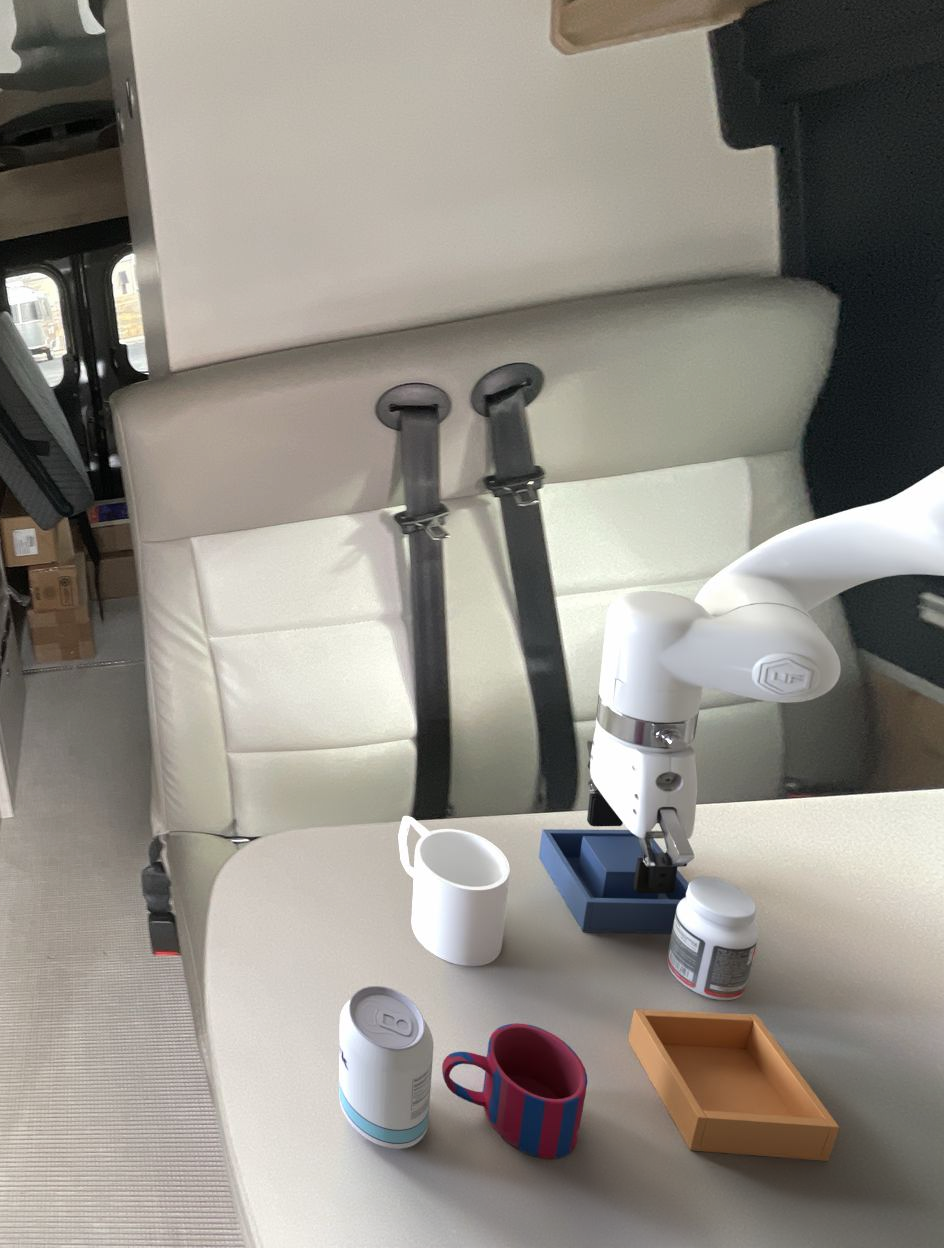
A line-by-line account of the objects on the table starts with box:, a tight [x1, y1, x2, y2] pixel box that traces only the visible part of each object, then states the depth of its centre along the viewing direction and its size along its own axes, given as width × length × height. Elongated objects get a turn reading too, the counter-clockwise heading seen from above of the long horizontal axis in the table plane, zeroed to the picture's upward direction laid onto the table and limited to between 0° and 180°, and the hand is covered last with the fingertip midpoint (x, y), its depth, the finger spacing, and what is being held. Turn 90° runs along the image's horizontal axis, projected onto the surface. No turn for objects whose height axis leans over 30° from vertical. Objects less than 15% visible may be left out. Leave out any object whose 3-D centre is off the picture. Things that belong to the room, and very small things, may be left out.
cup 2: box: [441, 1022, 588, 1160], centre depth 69 cm, size 7×10×7 cm
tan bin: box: [627, 1008, 840, 1162], centre depth 68 cm, size 9×9×4 cm
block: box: [578, 836, 659, 899], centre depth 86 cm, size 5×5×5 cm
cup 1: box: [397, 815, 511, 967], centre depth 86 cm, size 8×12×10 cm
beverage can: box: [338, 985, 434, 1150], centre depth 69 cm, size 7×7×12 cm
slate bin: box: [538, 828, 689, 935], centre depth 87 cm, size 10×10×4 cm
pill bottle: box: [666, 876, 759, 1001], centre depth 76 cm, size 6×6×10 cm
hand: (627, 855), depth 85 cm, fingers open, 8 cm apart
